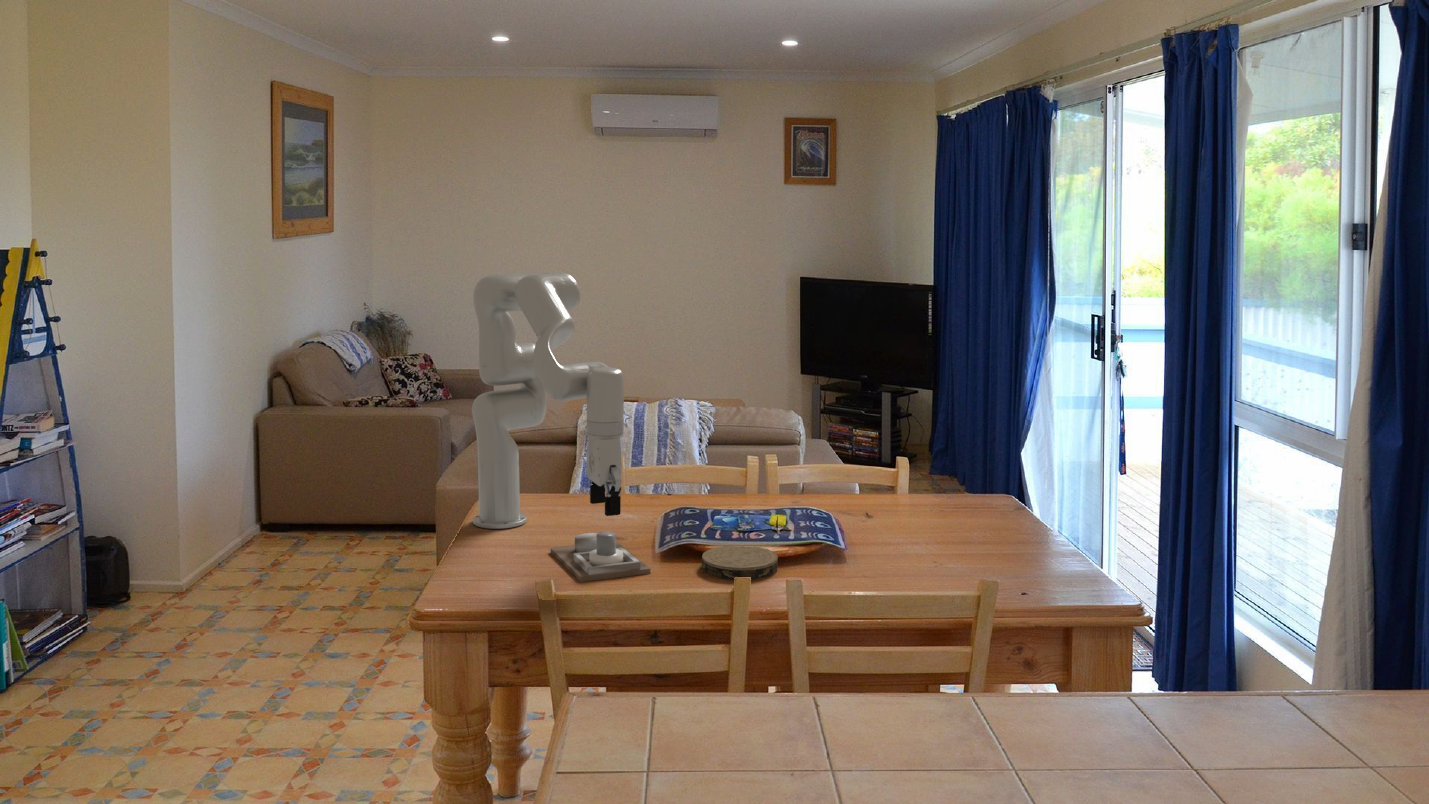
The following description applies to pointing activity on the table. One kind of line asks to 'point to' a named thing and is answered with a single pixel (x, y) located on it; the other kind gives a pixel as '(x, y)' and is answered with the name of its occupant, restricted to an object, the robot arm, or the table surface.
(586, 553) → the carrier board
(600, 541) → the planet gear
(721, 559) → the grey brown round disc
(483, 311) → the robot arm
